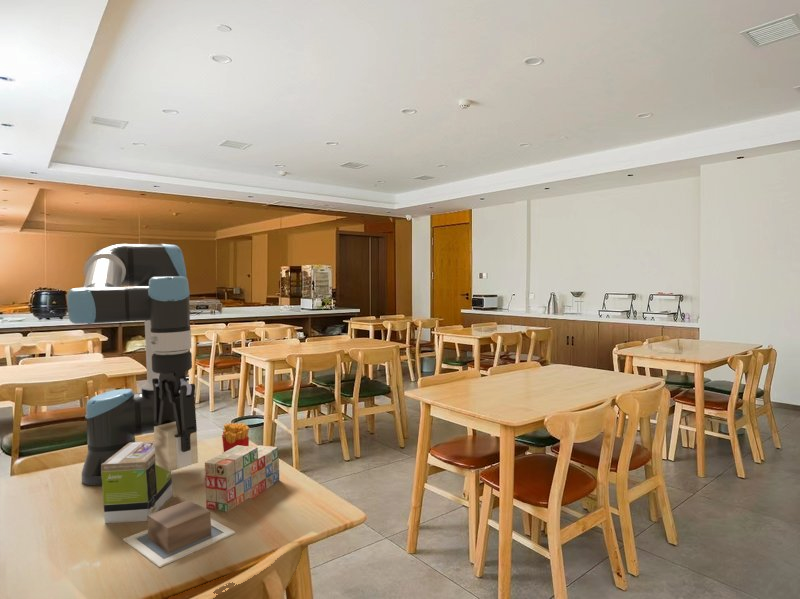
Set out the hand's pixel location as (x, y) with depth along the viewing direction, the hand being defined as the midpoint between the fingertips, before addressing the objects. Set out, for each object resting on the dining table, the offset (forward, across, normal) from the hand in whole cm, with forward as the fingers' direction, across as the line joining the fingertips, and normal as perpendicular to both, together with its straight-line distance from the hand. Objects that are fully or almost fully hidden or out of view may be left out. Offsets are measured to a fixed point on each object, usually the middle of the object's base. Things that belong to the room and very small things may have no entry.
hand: (176, 462), depth 106 cm
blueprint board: (+17, 0, 0) cm, 17 cm away
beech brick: (0, 0, 0) cm, 0 cm away
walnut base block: (+16, 0, 0) cm, 16 cm away
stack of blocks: (+17, -9, +22) cm, 29 cm away
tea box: (+17, -21, +1) cm, 27 cm away
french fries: (+17, -26, +30) cm, 43 cm away
